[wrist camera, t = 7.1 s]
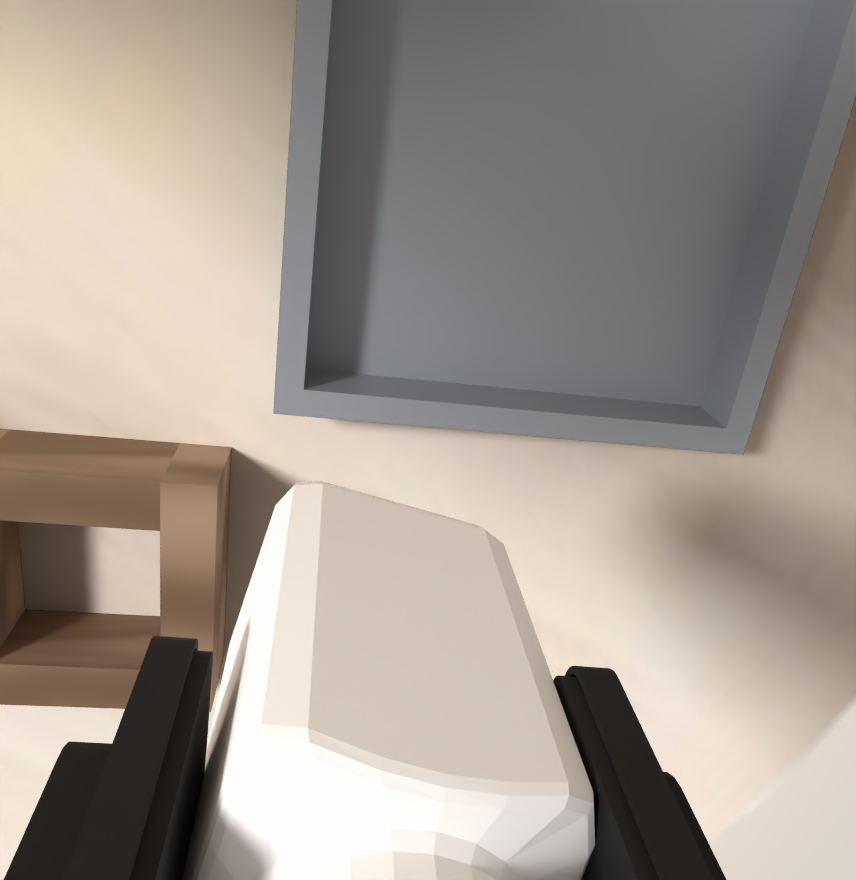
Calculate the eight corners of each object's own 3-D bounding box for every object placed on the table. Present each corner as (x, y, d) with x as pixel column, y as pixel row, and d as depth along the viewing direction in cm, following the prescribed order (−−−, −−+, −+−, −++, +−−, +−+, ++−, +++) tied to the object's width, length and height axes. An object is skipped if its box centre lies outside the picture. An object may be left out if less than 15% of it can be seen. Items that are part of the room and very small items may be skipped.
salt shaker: (430, 693, 15) (551, 1521, 6) (225, 647, 14) (28, 1537, 5) (509, 520, 13) (808, 1267, 5) (288, 457, 13) (162, 1232, 4)
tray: (314, -174, 23) (309, -212, 21) (854, -70, 26) (915, -92, 23) (280, 386, 30) (273, 413, 27) (710, 425, 33) (743, 454, 30)
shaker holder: (-46, 425, 29) (-94, 463, 26) (231, 447, 31) (217, 486, 28) (-21, 645, 33) (-60, 702, 30) (223, 656, 35) (211, 711, 32)
